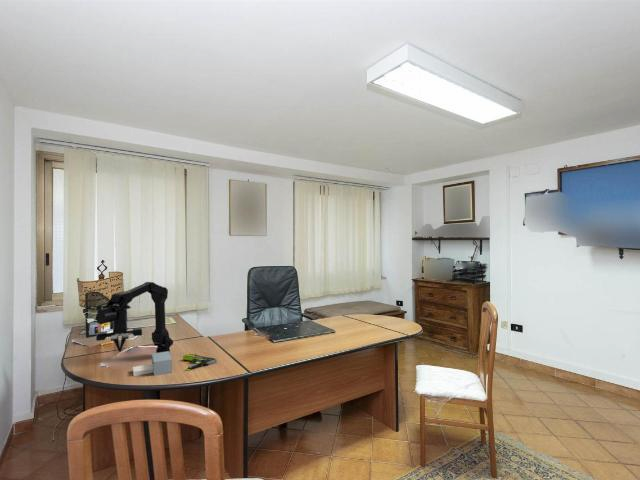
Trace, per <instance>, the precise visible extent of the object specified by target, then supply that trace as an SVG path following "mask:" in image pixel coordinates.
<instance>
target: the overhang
mask: <svg viewBox="0 0 640 480" xmlns="http://www.w3.org/2000/svg"><path fill="white" fill-rule="evenodd" d="M151 354H152V355H151V364H154V372H153V376H159V375H164V374H169V373H173V358H172V356H171V352H170V353H169V351H166V352H160V353H156V352H154V353H151Z"/></svg>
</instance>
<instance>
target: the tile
mask: <svg viewBox="0 0 640 480" xmlns="http://www.w3.org/2000/svg"><path fill="white" fill-rule="evenodd" d="M132 373H133V377H135V376H136V375H137V376H141V375H146V374H151V373H152V374H154V364H152V363H150V364H143V365H137V366H133V367H132Z"/></svg>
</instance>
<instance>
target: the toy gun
mask: <svg viewBox="0 0 640 480" xmlns="http://www.w3.org/2000/svg"><path fill="white" fill-rule="evenodd" d="M182 359H183V360H186V361H189V362H190V361H191V364H189V365H188V367H187V368H186V369H185V371H192V370H196V369H198V368H203V367H204V368H205V367H208V366H211V365H215V364H217V363H218V362H217V361H218V360H217V359H216V358H214V357H210V356H207V355H199V354H197V353H187V354H184V355H182Z"/></svg>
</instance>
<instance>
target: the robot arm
mask: <svg viewBox="0 0 640 480" xmlns="http://www.w3.org/2000/svg"><path fill="white" fill-rule="evenodd" d="M168 292H169V290H168V288H167V287H165V286H162V285H158V284H157V283H155V282H152V281H146V282H144V283H142V284H139V285H138V286H136V287H133V288H131V289H128V290H126V291H120V292H119V291H118V292H116V293H115V292H114V293H112V295H111V297H110V299H109V301H108V302H107V304H106V306H105V308H100V309H99V312H97V314H96V316H95V320H96V323H98V324H99V325H104V324H109V330H111V331H112V332H108V330H107V331H98V332H97V333H96V336H95V337H96V339H95V341H98V342H101V341H105V340H106V339H107V338H110V341H112V342H114V344H115V345H116V349H117V350H118V352H120V353H121V352H122V349H123V347H124V344H125V342H126V340H127V339H129V336H130V335H133V336H134V337H139V336H143V329H142V327H141V326H139V327H132V329H131V330H128V321H127V320H128V315H127V314H128V309H131V308H132V307H131V306H130V305H129V304H130V303H131V302H132V301H133V299H135V298H137V297H139V296H141V295H143V294H145V293H149V294H150V297H151V300H152V302H153V303H154V312H155V313H154V318H155V329H154V331H153V332H151V341H152V343H153V345H154V346H155V347H156V348H155V353H160V352H166V351H169V353H170V354H171V349H170V348H171V347H172V346H173V345H174V340H173V339H172V338H171V337H170V334H169V331H168V329H167V327H166V307H165V306H166V304H165V303H166V301H167V300H168V294H169V293H168ZM119 336H120V337H121V339H119Z"/></svg>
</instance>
